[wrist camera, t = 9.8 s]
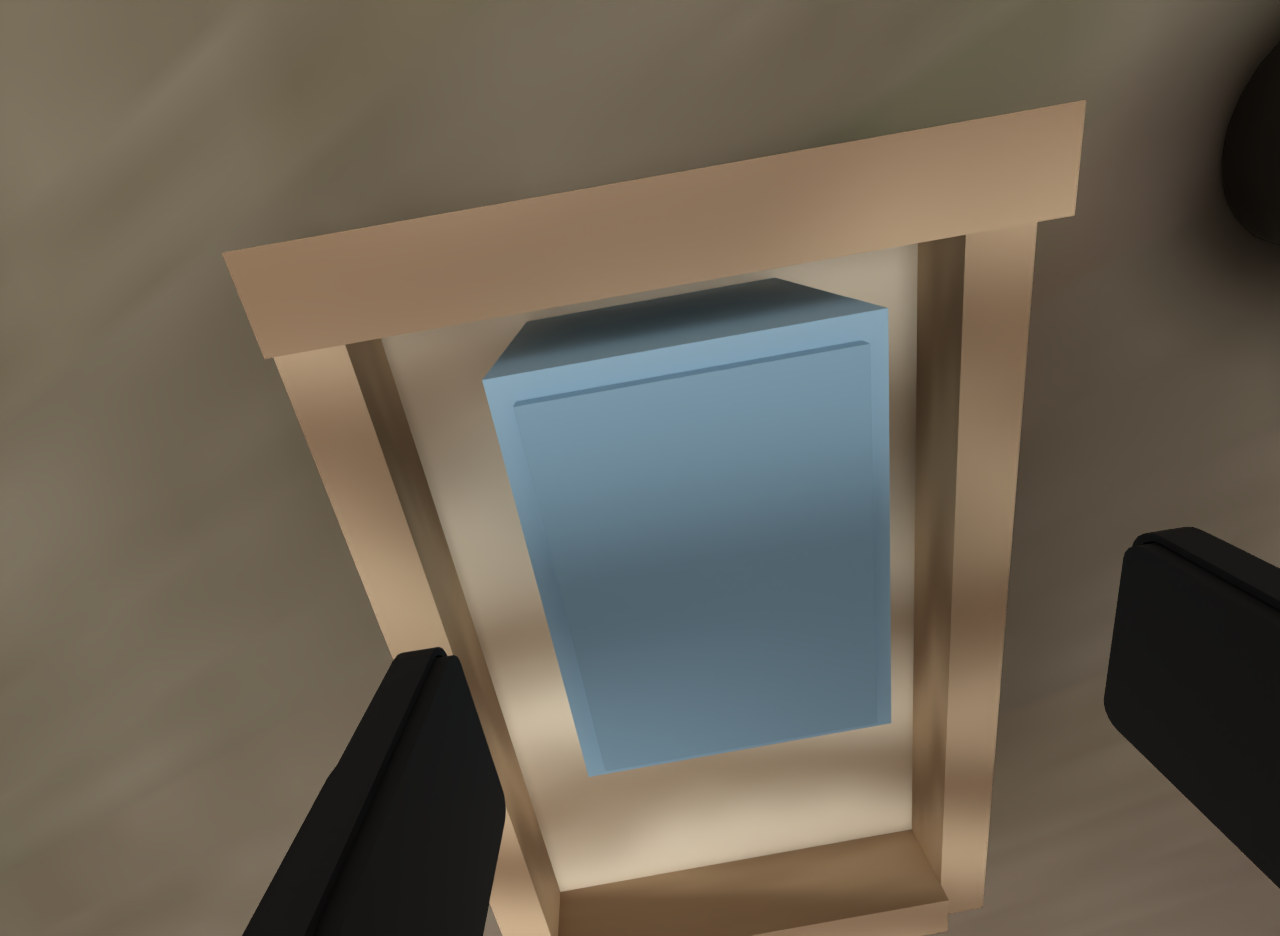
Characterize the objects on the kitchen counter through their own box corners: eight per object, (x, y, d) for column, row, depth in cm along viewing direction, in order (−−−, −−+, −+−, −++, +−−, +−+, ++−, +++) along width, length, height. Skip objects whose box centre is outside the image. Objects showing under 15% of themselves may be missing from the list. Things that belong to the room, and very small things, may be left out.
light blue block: (796, 564, 17) (898, 735, 11) (591, 601, 17) (588, 790, 11) (775, 277, 14) (898, 310, 8) (526, 321, 14) (477, 385, 8)
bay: (936, 827, 23) (1042, 1013, 18) (532, 899, 23) (512, 1107, 18) (959, 138, 14) (1186, 81, 9) (304, 255, 14) (121, 270, 9)
